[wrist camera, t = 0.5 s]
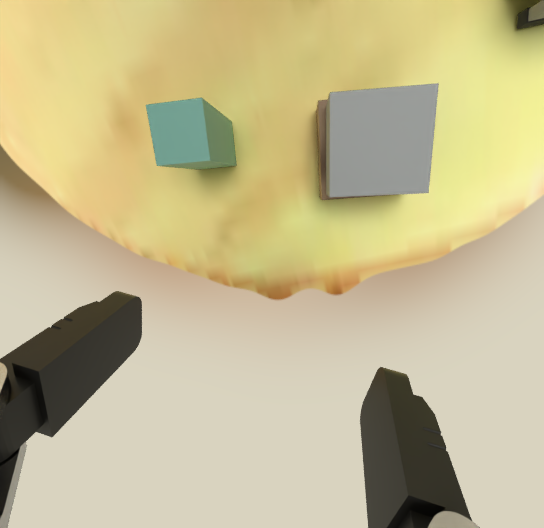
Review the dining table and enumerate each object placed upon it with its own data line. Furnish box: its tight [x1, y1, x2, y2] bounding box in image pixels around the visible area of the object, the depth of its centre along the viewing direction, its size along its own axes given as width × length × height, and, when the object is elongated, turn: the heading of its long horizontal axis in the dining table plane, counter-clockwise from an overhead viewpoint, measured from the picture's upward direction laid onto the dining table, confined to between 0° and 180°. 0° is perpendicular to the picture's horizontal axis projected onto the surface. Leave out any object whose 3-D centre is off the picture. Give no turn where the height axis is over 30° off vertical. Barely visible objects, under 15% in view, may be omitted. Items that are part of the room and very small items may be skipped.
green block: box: [146, 98, 237, 169], centre depth 29 cm, size 5×5×10 cm
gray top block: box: [326, 83, 438, 197], centre depth 26 cm, size 8×8×4 cm
